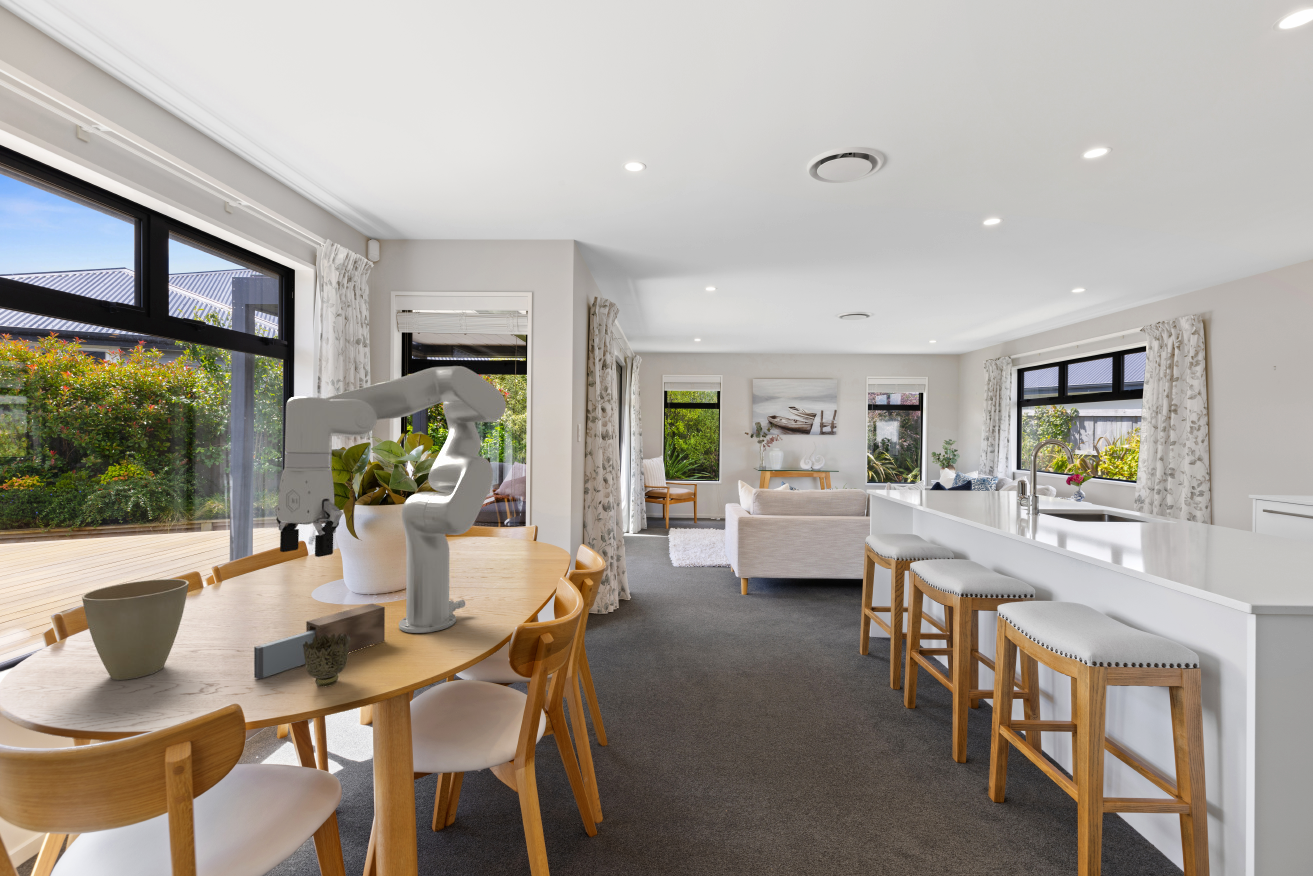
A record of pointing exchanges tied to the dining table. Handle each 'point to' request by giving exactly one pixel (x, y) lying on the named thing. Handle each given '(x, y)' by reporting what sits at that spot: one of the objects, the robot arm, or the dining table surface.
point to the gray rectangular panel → (281, 654)
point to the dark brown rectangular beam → (353, 625)
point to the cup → (326, 658)
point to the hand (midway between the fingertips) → (306, 553)
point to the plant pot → (135, 624)
